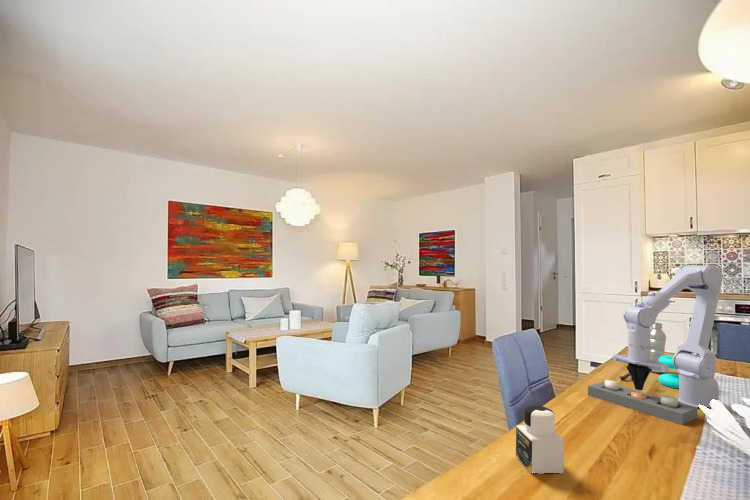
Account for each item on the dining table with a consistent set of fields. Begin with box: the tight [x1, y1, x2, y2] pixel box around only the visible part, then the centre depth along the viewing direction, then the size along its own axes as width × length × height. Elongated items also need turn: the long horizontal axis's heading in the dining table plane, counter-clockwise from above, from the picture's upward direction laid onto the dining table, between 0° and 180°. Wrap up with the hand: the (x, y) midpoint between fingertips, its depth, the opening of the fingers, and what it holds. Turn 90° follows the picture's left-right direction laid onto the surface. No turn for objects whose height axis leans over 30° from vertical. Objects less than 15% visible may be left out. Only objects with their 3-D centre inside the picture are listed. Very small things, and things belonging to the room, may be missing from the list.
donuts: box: [658, 355, 679, 390], centre depth 140 cm, size 10×10×10 cm
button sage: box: [660, 394, 678, 409], centre depth 112 cm, size 4×4×3 cm
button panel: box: [587, 381, 699, 426], centre depth 118 cm, size 26×10×3 cm, turn 31°
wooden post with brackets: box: [619, 371, 633, 382], centre depth 145 cm, size 2×8×4 cm, turn 108°
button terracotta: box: [631, 392, 647, 400], centre depth 118 cm, size 4×4×3 cm
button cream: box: [604, 379, 620, 392], centre depth 125 cm, size 4×4×3 cm
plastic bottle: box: [650, 322, 667, 374], centre depth 157 cm, size 6×7×20 cm
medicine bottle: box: [515, 405, 565, 475], centre depth 82 cm, size 7×7×12 cm
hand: (639, 389), depth 118 cm, fingers closed
